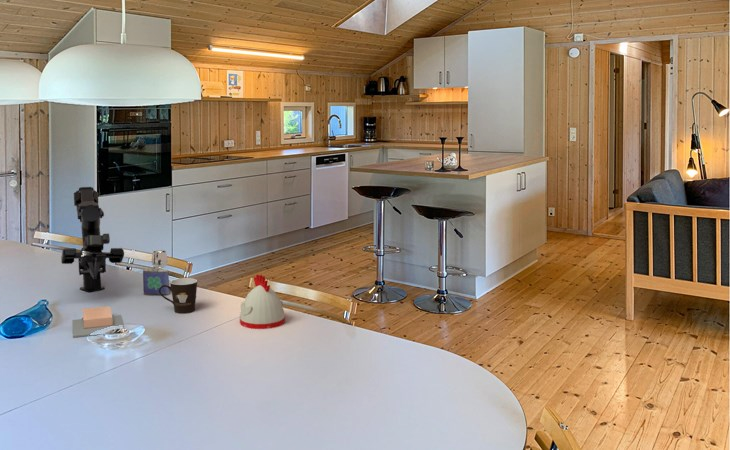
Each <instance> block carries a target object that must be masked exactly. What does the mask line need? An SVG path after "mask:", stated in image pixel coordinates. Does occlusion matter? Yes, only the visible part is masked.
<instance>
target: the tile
mask: <svg viewBox="0 0 730 450" xmlns="http://www.w3.org/2000/svg"><path fill="white" fill-rule="evenodd" d="M112 316H113V314H112V310H111V306H100V307H90V308H82V319H83V323H84V328H92V327H100V326H109V325H113V319H112Z"/></svg>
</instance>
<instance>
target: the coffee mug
mask: <svg viewBox="0 0 730 450" xmlns="http://www.w3.org/2000/svg"><path fill="white" fill-rule="evenodd" d="M163 287H168V288H169V292H171V297H172V298H171V299H172V300H171V299H170V298H169V297H166V295H164V296H163V294H162V293H161V288H163ZM197 289H198V280H197V279H196V278H193V277H182V278H175V279H171V280H169V286H168V285H163V286H161V287H160V288H159V293H160V295H159V296H160V297H162V298H163V299H165V300H167V301H168V302H170V303H171V304H173V305H172V306H173V309H174V313H175V314H180V315H182V314H183V315H184V314H190V313H194V312H195V311H196V301H197V300H196V299H197V291H198V290H197Z"/></svg>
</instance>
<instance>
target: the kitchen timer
mask: <svg viewBox="0 0 730 450" xmlns="http://www.w3.org/2000/svg"><path fill="white" fill-rule="evenodd" d="M268 281H269V280H266V276H265V275H262V274H261V275H260V274H256V275H255V277H253V282H254V285H255V287H253V288H252V289H251V290H250V291H249V292H248V294H247V295H246V296H245V298H244V300H243V302H241V304H240V312H239V313H240V314H239V324H240V326H242V327H244V328H247V329H253V330H268V329H274V328H277V327H281V326H282V325H284V324H285V319H286V318H285V317H286V315H285V311H284V307H283V306H284V303H283V302H284V301H283V300H282V299H280V297H279V296H278V295H277V292H275V290H274V289H272V288H271V285H270V284H269V285H268Z"/></svg>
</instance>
